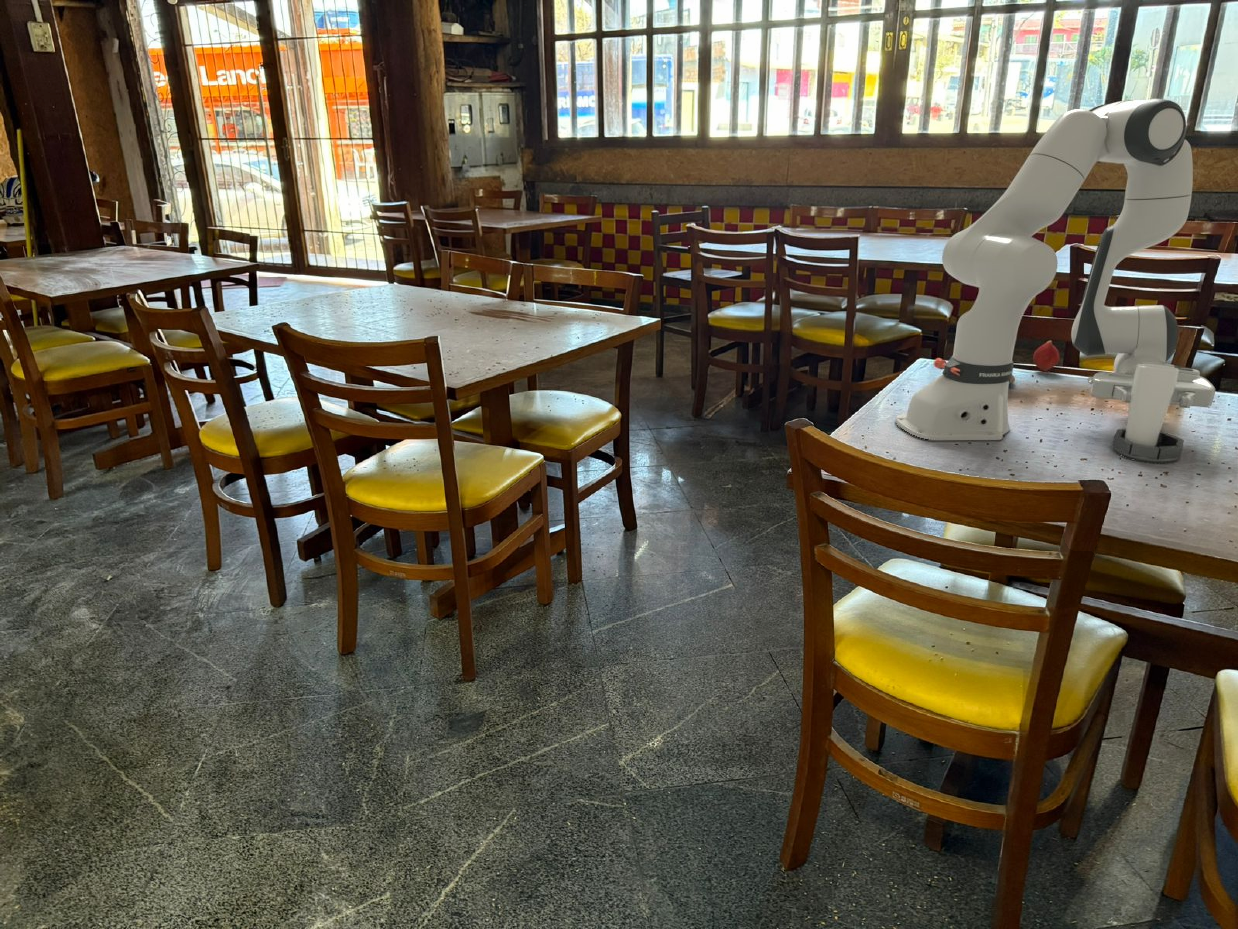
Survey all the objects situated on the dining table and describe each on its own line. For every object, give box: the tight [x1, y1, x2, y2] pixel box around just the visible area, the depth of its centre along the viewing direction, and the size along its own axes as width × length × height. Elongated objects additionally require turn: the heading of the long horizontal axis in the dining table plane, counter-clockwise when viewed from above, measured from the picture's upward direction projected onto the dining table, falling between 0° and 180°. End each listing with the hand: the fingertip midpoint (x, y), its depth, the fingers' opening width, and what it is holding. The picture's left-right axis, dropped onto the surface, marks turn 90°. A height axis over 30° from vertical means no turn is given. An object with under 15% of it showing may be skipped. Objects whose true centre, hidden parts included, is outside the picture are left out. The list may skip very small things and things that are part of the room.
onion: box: [1032, 340, 1060, 372], centre depth 210 cm, size 6×6×8 cm
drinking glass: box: [1124, 364, 1179, 446], centre depth 157 cm, size 7×7×15 cm
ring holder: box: [1111, 428, 1185, 465], centre depth 158 cm, size 11×11×3 cm
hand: (1156, 401), depth 156 cm, fingers open, 8 cm apart
